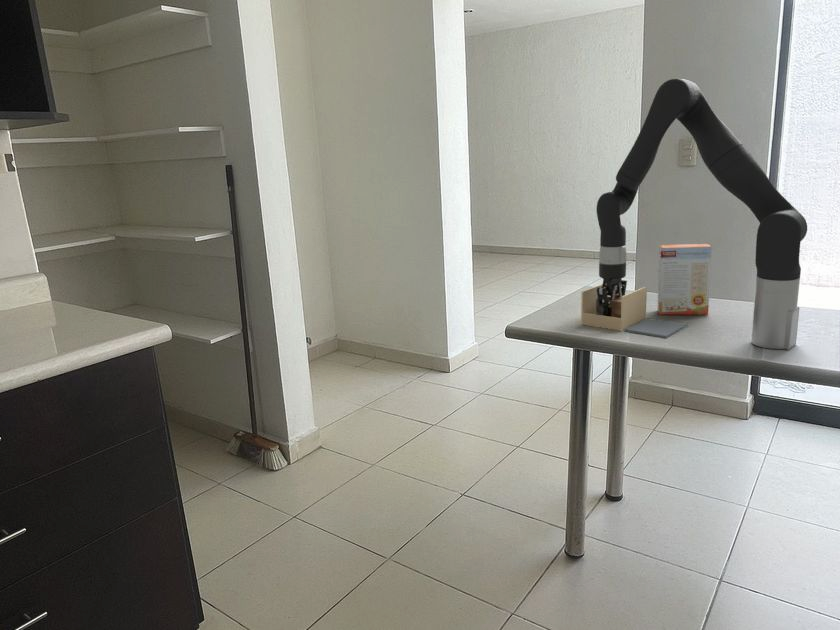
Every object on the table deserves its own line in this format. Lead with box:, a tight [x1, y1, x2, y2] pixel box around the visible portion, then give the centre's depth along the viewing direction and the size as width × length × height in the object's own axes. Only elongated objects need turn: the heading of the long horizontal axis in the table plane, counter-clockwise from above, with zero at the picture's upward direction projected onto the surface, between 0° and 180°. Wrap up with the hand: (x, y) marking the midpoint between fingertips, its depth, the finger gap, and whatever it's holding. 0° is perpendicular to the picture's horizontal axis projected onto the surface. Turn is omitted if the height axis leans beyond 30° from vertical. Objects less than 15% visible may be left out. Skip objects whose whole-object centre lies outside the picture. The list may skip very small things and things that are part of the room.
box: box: [596, 296, 621, 318], centre depth 179 cm, size 9×5×7 cm, turn 45°
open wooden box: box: [580, 283, 648, 332], centre depth 179 cm, size 13×15×10 cm
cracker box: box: [657, 243, 712, 316], centre depth 183 cm, size 14×6×21 cm, turn 74°
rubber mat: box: [624, 317, 689, 339], centre depth 171 cm, size 12×14×1 cm
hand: (611, 317), depth 180 cm, fingers closed on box, 4 cm apart
